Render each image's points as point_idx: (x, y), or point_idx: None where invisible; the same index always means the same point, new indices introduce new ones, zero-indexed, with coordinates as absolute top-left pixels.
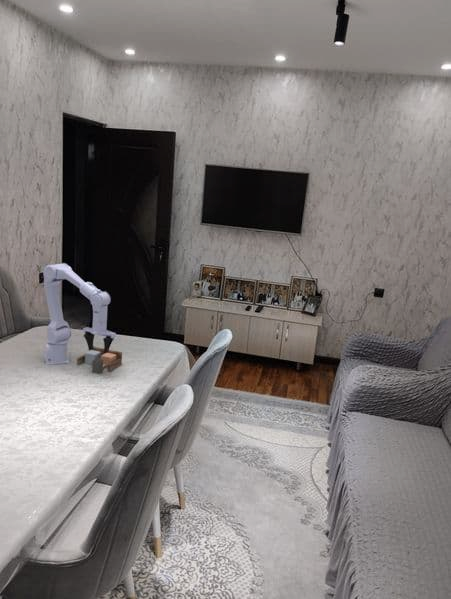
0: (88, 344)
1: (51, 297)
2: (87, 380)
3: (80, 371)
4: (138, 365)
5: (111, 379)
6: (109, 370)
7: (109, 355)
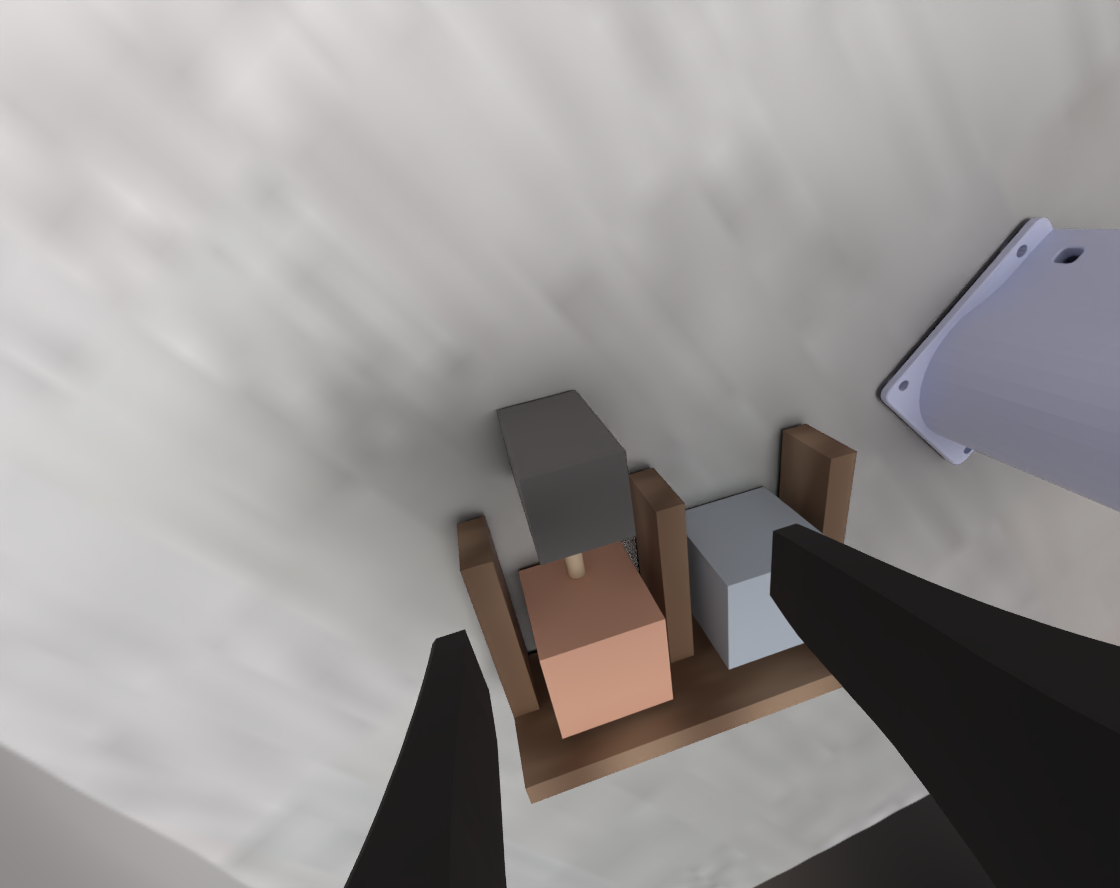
0: (899, 587)
1: None
2: (445, 176)
3: (687, 330)
4: None
5: (274, 410)
6: (462, 530)
7: (601, 683)
